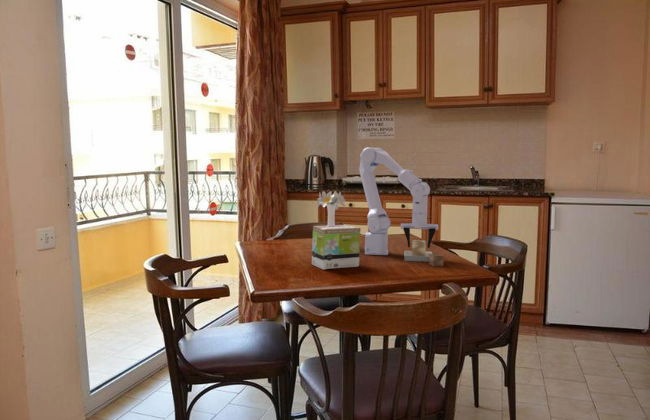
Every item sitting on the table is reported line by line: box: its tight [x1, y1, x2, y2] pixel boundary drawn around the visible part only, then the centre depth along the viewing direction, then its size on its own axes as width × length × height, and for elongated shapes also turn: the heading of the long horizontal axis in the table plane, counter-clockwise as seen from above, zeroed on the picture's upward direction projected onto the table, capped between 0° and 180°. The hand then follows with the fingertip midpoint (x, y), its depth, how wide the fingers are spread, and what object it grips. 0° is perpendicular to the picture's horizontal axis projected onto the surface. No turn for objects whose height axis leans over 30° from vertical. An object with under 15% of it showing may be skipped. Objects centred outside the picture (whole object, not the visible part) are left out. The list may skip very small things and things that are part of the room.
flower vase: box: [315, 190, 346, 225], centre depth 225 cm, size 13×18×25 cm
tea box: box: [311, 224, 361, 270], centre depth 185 cm, size 15×10×15 cm, turn 117°
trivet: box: [403, 250, 433, 263], centre depth 201 cm, size 11×11×2 cm
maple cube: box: [411, 239, 427, 255], centre depth 200 cm, size 5×5×5 cm
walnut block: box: [428, 253, 444, 267], centre depth 189 cm, size 4×4×4 cm
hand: (418, 247), depth 200 cm, fingers open, 7 cm apart
